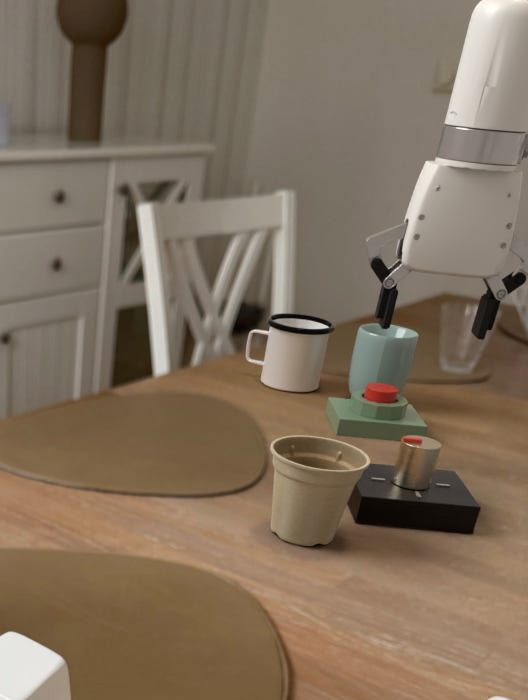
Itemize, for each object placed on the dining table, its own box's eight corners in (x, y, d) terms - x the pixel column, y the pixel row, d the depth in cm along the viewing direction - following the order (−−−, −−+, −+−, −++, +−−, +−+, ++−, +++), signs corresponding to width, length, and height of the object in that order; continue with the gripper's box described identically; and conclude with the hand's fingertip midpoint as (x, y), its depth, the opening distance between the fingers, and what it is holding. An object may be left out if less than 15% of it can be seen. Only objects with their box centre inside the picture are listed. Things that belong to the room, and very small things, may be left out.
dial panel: (447, 496, 109) (455, 469, 107) (472, 534, 100) (481, 505, 99) (339, 486, 110) (345, 459, 108) (355, 523, 101) (362, 494, 99)
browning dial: (424, 477, 105) (437, 434, 103) (434, 491, 102) (446, 447, 99) (387, 473, 105) (398, 430, 103) (395, 488, 102) (407, 444, 99)
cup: (367, 413, 133) (385, 339, 128) (331, 396, 139) (347, 324, 134) (412, 409, 136) (431, 336, 130) (374, 392, 142) (391, 322, 136)
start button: (391, 397, 128) (394, 384, 127) (398, 407, 124) (401, 393, 123) (360, 394, 128) (363, 381, 127) (366, 404, 124) (369, 390, 124)
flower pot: (338, 517, 102) (357, 438, 97) (360, 558, 94) (382, 474, 89) (248, 511, 102) (263, 431, 97) (262, 551, 94) (279, 466, 89)
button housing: (407, 420, 132) (414, 391, 129) (423, 443, 124) (431, 412, 122) (324, 412, 132) (331, 383, 130) (335, 435, 124) (342, 404, 122)
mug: (330, 384, 144) (344, 321, 139) (309, 399, 137) (323, 333, 132) (254, 367, 149) (264, 306, 144) (230, 381, 142) (240, 317, 137)
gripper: (560, 155, 96) (506, 332, 105) (381, 139, 98) (342, 314, 107) (584, 162, 90) (524, 349, 99) (393, 144, 91) (350, 330, 100)
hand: (430, 331), depth 103 cm, fingers open, 9 cm apart
